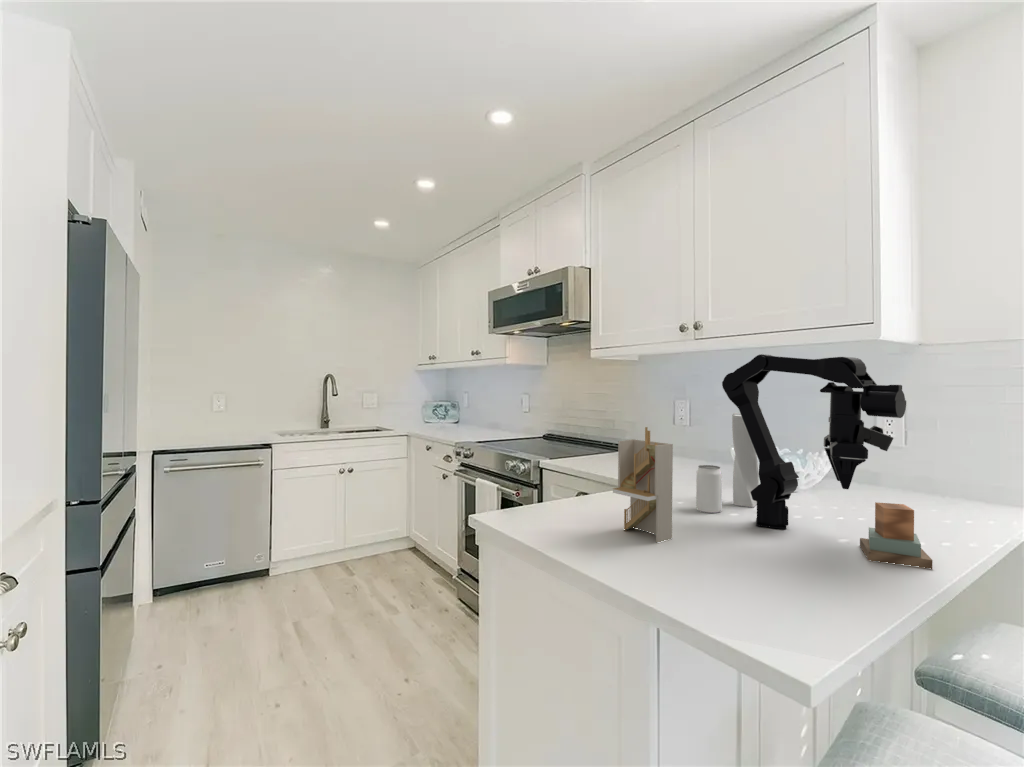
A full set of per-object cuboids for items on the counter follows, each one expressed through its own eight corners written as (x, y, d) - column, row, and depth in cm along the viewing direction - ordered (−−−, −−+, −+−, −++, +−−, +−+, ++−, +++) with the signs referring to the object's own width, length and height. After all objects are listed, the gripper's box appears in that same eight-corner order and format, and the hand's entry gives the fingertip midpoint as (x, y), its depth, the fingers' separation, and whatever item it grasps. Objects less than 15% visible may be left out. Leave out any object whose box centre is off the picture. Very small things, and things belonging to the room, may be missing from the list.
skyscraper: (764, 504, 147) (764, 406, 146) (758, 509, 141) (759, 408, 140) (734, 500, 151) (735, 406, 151) (728, 505, 145) (729, 407, 145)
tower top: (869, 549, 102) (870, 537, 102) (868, 538, 109) (868, 527, 109) (920, 557, 98) (920, 544, 98) (916, 545, 105) (916, 533, 105)
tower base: (868, 564, 101) (868, 551, 101) (859, 549, 110) (860, 537, 110) (932, 573, 96) (932, 560, 96) (917, 556, 105) (917, 544, 105)
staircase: (631, 528, 123) (632, 423, 123) (672, 540, 114) (672, 427, 114) (609, 534, 119) (610, 425, 118) (649, 547, 109) (650, 429, 109)
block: (883, 538, 102) (884, 508, 102) (875, 531, 106) (875, 502, 106) (913, 540, 100) (914, 510, 100) (903, 533, 105) (903, 504, 105)
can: (725, 513, 136) (725, 468, 136) (701, 513, 136) (701, 468, 136) (716, 507, 142) (716, 464, 142) (692, 507, 143) (693, 464, 142)
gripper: (900, 419, 100) (897, 498, 100) (881, 413, 117) (878, 481, 117) (833, 416, 105) (831, 491, 105) (824, 410, 122) (822, 475, 122)
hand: (842, 484), depth 112 cm, fingers open, 9 cm apart
